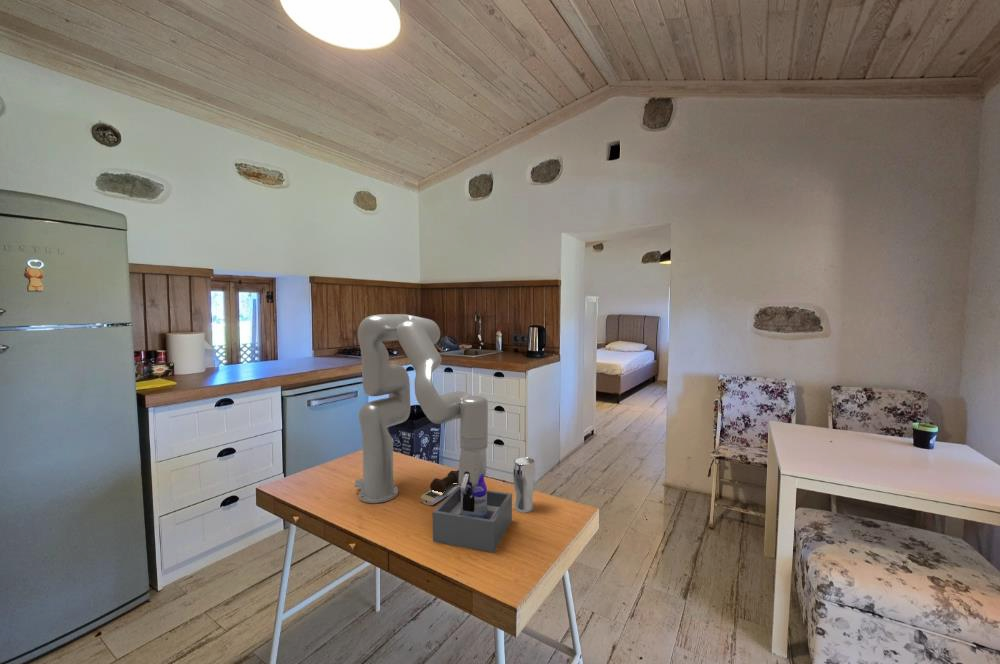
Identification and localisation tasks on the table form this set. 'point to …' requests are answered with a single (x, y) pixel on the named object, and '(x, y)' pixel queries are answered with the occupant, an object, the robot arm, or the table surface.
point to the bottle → (477, 500)
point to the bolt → (445, 481)
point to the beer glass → (524, 483)
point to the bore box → (472, 522)
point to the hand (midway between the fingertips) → (473, 503)
